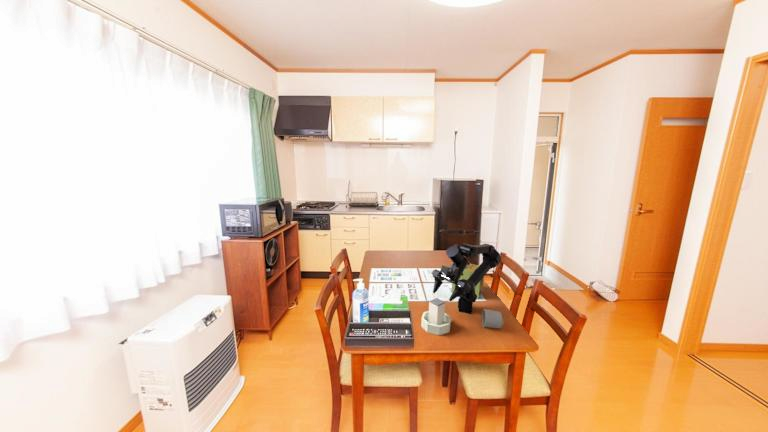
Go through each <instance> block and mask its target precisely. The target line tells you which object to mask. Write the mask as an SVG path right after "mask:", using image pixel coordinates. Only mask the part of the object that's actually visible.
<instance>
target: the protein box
mask: <svg viewBox="0 0 768 432" xmlns="http://www.w3.org/2000/svg"><path fill="white" fill-rule="evenodd" d="M479 266H480V265H478V264H474V263H470V265H467V266H466V268H465V269H464V271H463V276H460V278H459V280H462V279H465V280H468V278H469V277H470V276H471V275H472V274H473V273H474V272H475V270H476V269H477V268H478V267H479ZM484 277H485V276H484ZM484 277H483V278H482V279H481V281H480V282H479V283H478V284H477V285H476V287H475V294H476V295H477V299H476V300H479V299H480V298H481V296H482V294H483V290H484V280H485V279H484ZM453 282H454V281H453ZM454 290H455V284H453V283H451V292H452V293H453V291H454Z"/></svg>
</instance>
